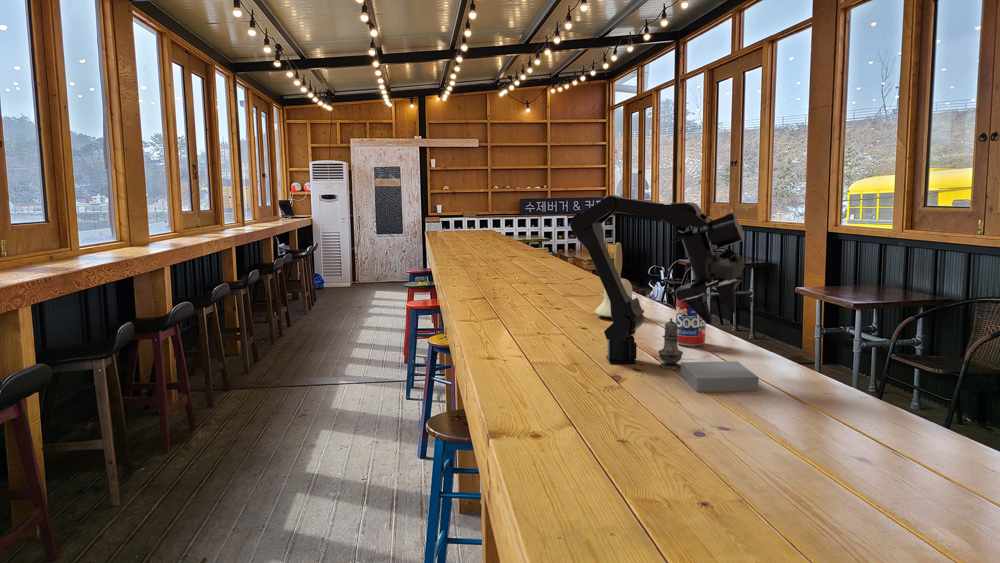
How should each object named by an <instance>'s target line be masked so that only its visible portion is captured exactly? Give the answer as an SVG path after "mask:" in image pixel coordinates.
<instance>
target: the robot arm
mask: <svg viewBox="0 0 1000 563" xmlns="http://www.w3.org/2000/svg"><path fill="white" fill-rule="evenodd" d="M614 213H621V214H626V215H632V216H633V215H634V216H639V217H643V218H644V217H645V218H651V219H657V220H660V221H662V222H665V223H667V224H669V225H672V226H675V227H677V228H681V229H686V228H687V230H685V231H682V230H679V229H678V230H676V232H675V235H674V237H673V239H672V242H673V243H677V242H678V241H681V242H682V245H683V248H684V250H685V254H686V257H687V260H688V262H687V263H685V265H686V268H691V271H692V275H693V277H694V278H693V279H690V280H691V282H690V283H687V284H683V285H682V286H679V287H677V288H676V289H675V292H674V294H675V296H676V297H677V300H682V299H684V300H682V302H685V303H686V304H687V305H689V306H690V307H691V308H692V309H693V310H694V311H695V312H696V313H697V314H698V315H699V316H700V317H701V318H702V319H703V320H704V321H705V322H706V325H711V324H712V323H713V322H712V316H711V313H710V309H709V305H708V302H707V300H708V297H709V295H710V293H709V292H707V289H709V288H711V287H713V286H714V287H715V290H716V291H717V292H716V293H717V294H718V295H719V297H720V298H721V300H722V301H723V304H724V305H725V307H726V308H727V310H728V311H729V313H730V314H735V312H736V292H737V290H736V289H737V288H738V286H739V284H740V283H741V282H742V278H744V277H745V275H744V272H743V269H744V268H745V267H746V265H745V264H744V260H743V258H742V255H740V254H734V255H731V256H730V257H729V258H727V259H721V256H720V254H718V253H715V254H714V251H713V249H712V246H716V247H717V248H718V249H722V248H726V247H727V246H731V245H734V244H737V243H740V242H744V241H745V234H744V230H743V227H742V225H741V224H740V222H739V220H738V219H737V217H736V214H735V213H734V212H731V213H728V214H726V215H724V216H722V217H719V218H716V219H712V218H711V217H709V216H707V214H704V213H703V212H702V210H701V207H700V206H699V204H697V203H694V202H689V201H687V202H686V201H685V202H664V203H663V202H657V201H649V200H644V199H636V198H631V197H625V196H624V197H623V196H619V195H616V194H612V195H611V194H609V195H606V196H605V197H603V198H602V199H601V200H600V201H598V202H597V203H595V204H594V205H592V206H591V207H589V208H588V209H586V210H585V211H582V212H578V213H576V214H574V215H573V216H572V218H571V221H570V224H569V225H570V230H571V231H572V233H573V234H574V236H575V237H576V239H577V240H578V242H579V243H580V244H581V245H582V246H584V248H585V249H586V250H587V252H588V254H589V257H590V259H591V261H592V264H593V265H594V268H595V270H596V273H597V274H598V277H599V279H600V282H601V284H602V286H603V289H604V288H605V291H606V293H607V295H608V297H609V300H610V307H611V316H612V317H611V320H612V323H611V324H610V325H609V326H608V327H607V328H605V330H604V331H603V332H604V336H605V339H606V340H607V346H606V347H607V352H606V353H607V355H605V358H606V360H607V361H608V363H609V364H614V365H615V364H617V365H618V364H636V363H637V361H636V360H637V350H638V349H637V348H638V347H637V343H636V341H635V337H634V335H635V334H636V331H637V329H639V328H640V327H641V326H642V325H643V322H644V319H645V317H644V313H645V310H644V309H643V308H642V306H641V304H640V300H639V297H636V298H632V299H631V298H630V297H629V296H628V294H627V293H626V291H625V288H624V286H623V284H622V282H621V279H620V277H621V276H620V277H619V275H618V273H617V270H616V268H615V263H614V262H613V260H612V257H611V255H610V253H609V251H608V249H607V246H606V244H605V237H604V236H605V233H604V232H605V231H604V227H603V223H604V222H606V221H607V220H608V219H610V217H612V215H613V214H614ZM691 227H694V228H691ZM704 227H707V229H703V230H700V231H698V230H697V229H701V228H704ZM688 228H691V229H688ZM696 228H697V229H696ZM716 285H717V286H716Z"/></svg>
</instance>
